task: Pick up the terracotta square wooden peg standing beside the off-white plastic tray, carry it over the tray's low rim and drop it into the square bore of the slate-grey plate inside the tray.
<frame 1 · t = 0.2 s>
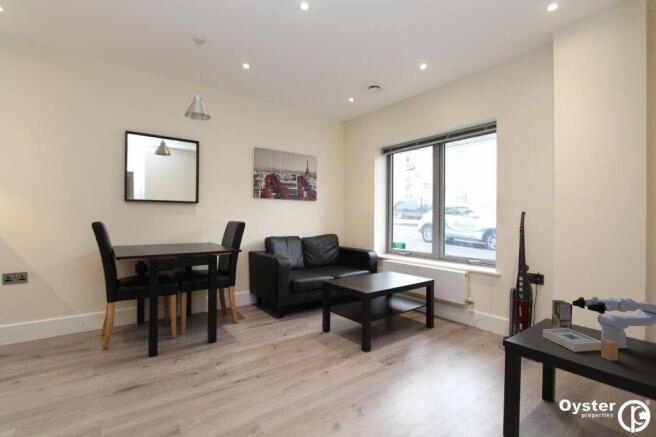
hand: (580, 305, 154), 21 cm above the table, tool horizontal, fingers open, 7 cm apart
coffee box: (561, 330, 178), on the table
tray: (571, 343, 160), on the table
peg: (609, 358, 143), on the table
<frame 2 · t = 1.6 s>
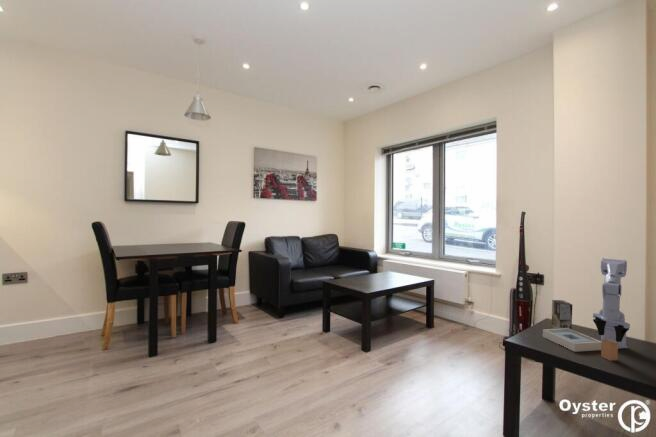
hand: (609, 338, 143), 9 cm above the table, tool pointing down, fingers open, 7 cm apart
nothing on the table moved.
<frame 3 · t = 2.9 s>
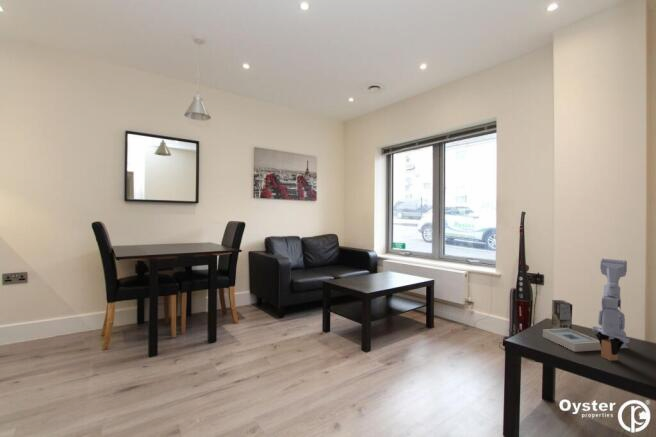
hand: (609, 352, 143), 3 cm above the table, tool pointing down, fingers closed on peg, 4 cm apart
peg: (609, 358, 143), on the table, touching gripper
everything else where it was.
when the fingers open (5 cm above the table, at t = 6.6 s): peg stays where it is, resting on tray.
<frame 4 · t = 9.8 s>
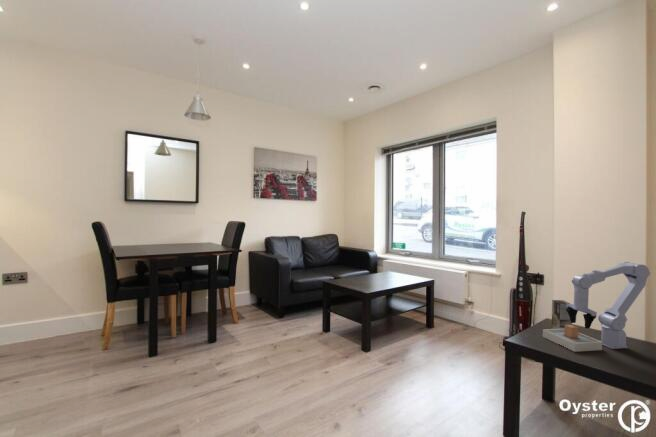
hand: (580, 325, 159), 9 cm above the table, tool pointing down, fingers open, 7 cm apart
peg: (570, 341, 160), point 1 cm above the table, touching tray
everything else where it was.
at the end: peg 0.1 cm off-centre on the tray, point 0.8 cm above the tray's base; peg tilted 0°; the gripper is holding nothing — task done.
